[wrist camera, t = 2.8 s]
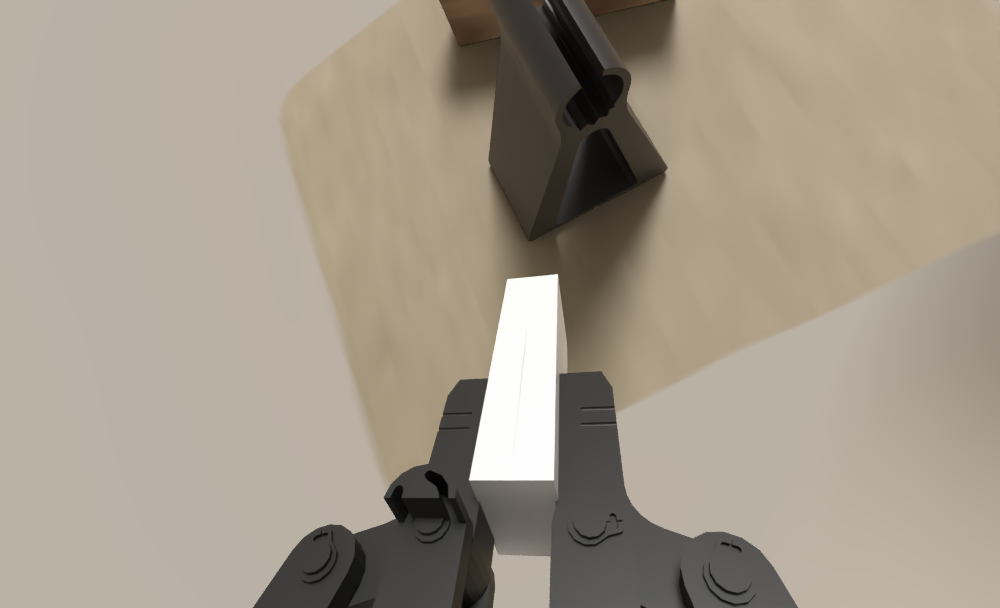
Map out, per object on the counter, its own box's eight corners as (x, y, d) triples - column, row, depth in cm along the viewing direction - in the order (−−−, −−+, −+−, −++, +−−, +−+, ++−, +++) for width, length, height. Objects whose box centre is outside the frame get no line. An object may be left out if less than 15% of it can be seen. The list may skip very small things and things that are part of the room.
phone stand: (619, 92, 27) (632, -122, 15) (666, 171, 25) (722, 4, 14) (489, 163, 28) (410, 16, 16) (528, 242, 26) (472, 144, 15)
